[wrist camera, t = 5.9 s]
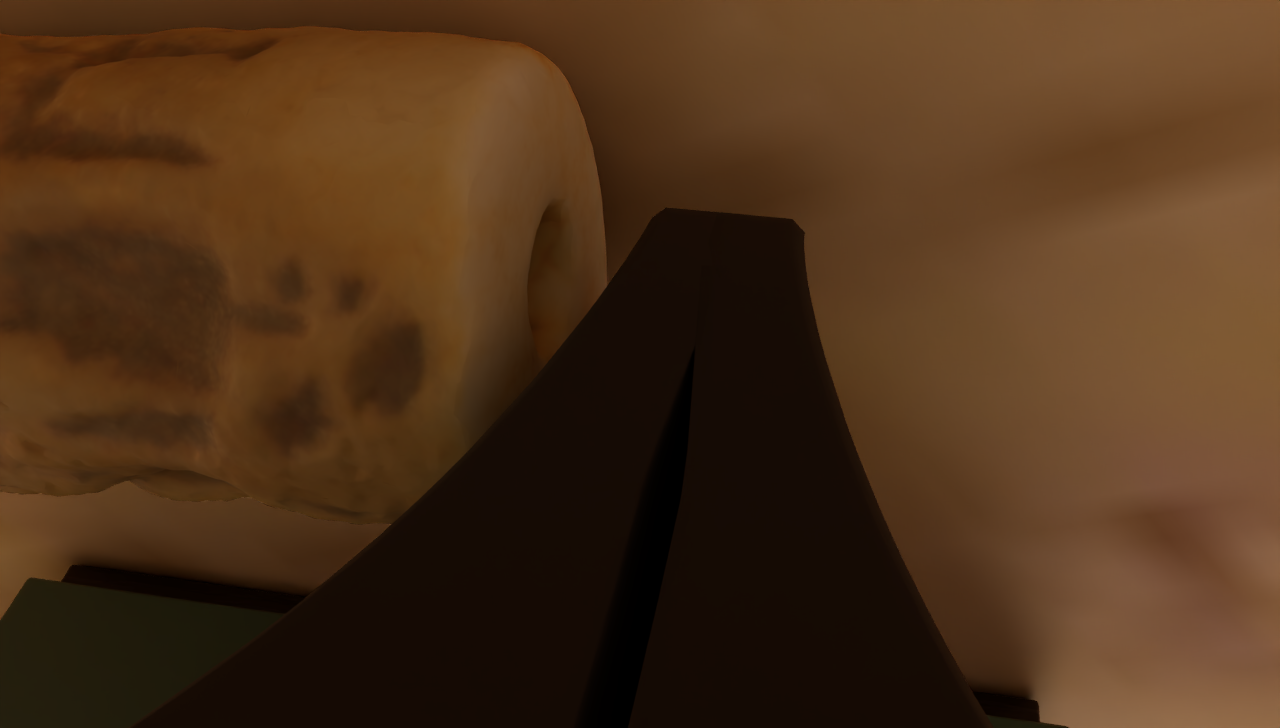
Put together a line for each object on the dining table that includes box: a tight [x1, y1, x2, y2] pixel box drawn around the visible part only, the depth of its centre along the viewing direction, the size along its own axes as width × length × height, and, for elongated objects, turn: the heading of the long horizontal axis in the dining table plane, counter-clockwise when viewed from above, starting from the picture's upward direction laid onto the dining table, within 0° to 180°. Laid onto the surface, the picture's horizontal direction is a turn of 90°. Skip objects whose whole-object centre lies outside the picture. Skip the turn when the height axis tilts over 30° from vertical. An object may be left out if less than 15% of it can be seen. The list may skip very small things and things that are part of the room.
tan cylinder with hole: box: [0, 26, 607, 525], centre depth 10 cm, size 8×4×4 cm, turn 98°
